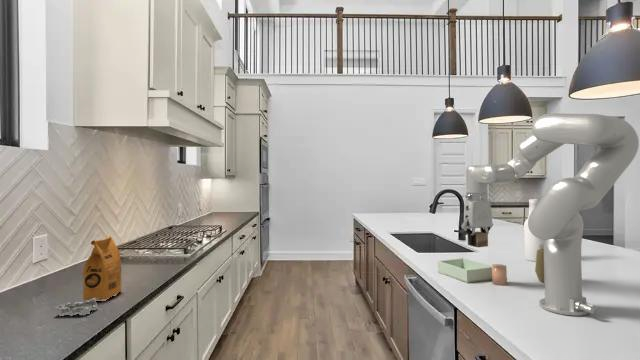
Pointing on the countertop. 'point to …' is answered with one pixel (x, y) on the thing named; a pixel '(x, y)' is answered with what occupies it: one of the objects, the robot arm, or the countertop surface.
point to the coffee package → (102, 270)
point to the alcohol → (531, 236)
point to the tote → (465, 270)
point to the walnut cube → (481, 239)
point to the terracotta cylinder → (499, 274)
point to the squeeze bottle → (540, 263)
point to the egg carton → (73, 307)
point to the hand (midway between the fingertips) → (477, 244)
